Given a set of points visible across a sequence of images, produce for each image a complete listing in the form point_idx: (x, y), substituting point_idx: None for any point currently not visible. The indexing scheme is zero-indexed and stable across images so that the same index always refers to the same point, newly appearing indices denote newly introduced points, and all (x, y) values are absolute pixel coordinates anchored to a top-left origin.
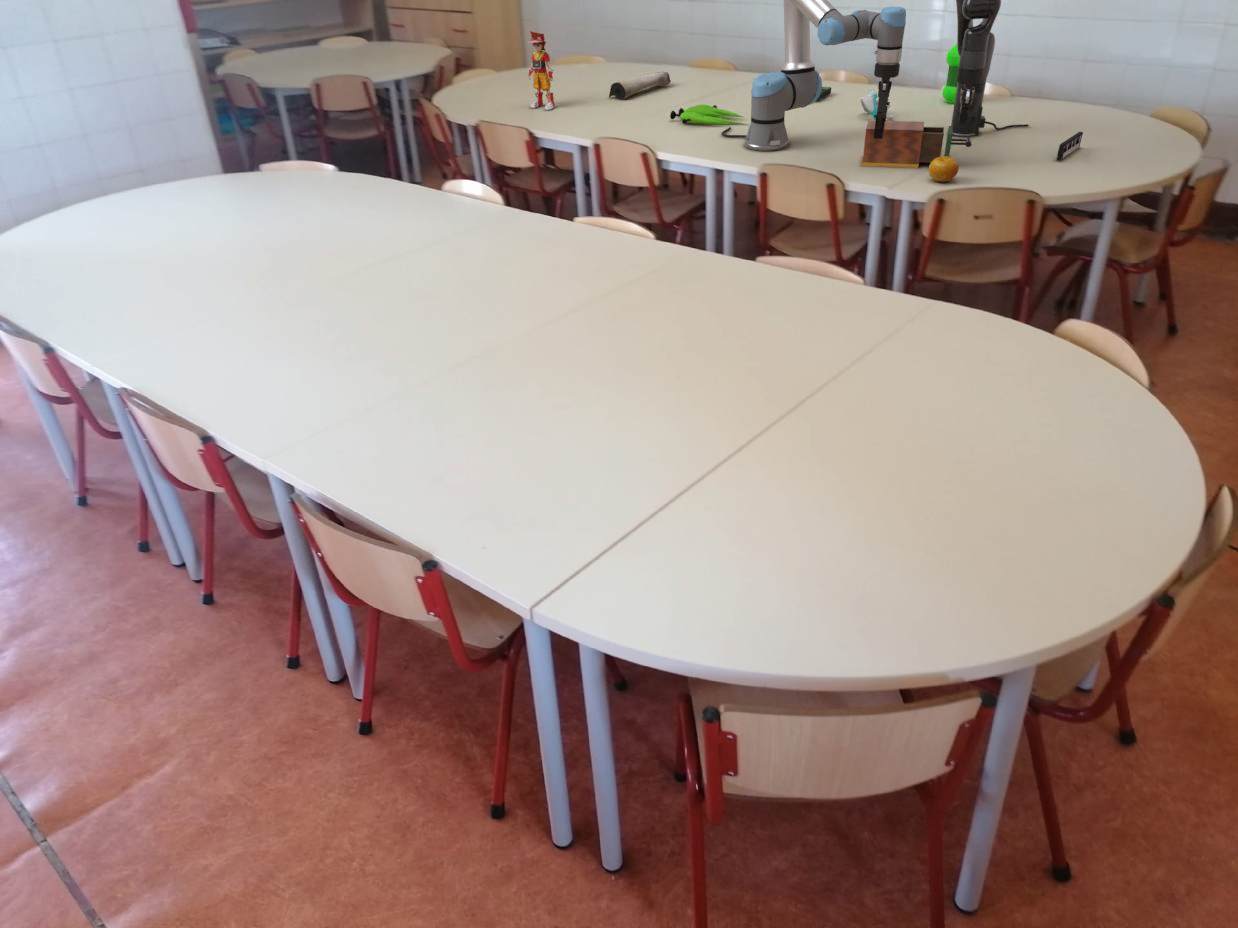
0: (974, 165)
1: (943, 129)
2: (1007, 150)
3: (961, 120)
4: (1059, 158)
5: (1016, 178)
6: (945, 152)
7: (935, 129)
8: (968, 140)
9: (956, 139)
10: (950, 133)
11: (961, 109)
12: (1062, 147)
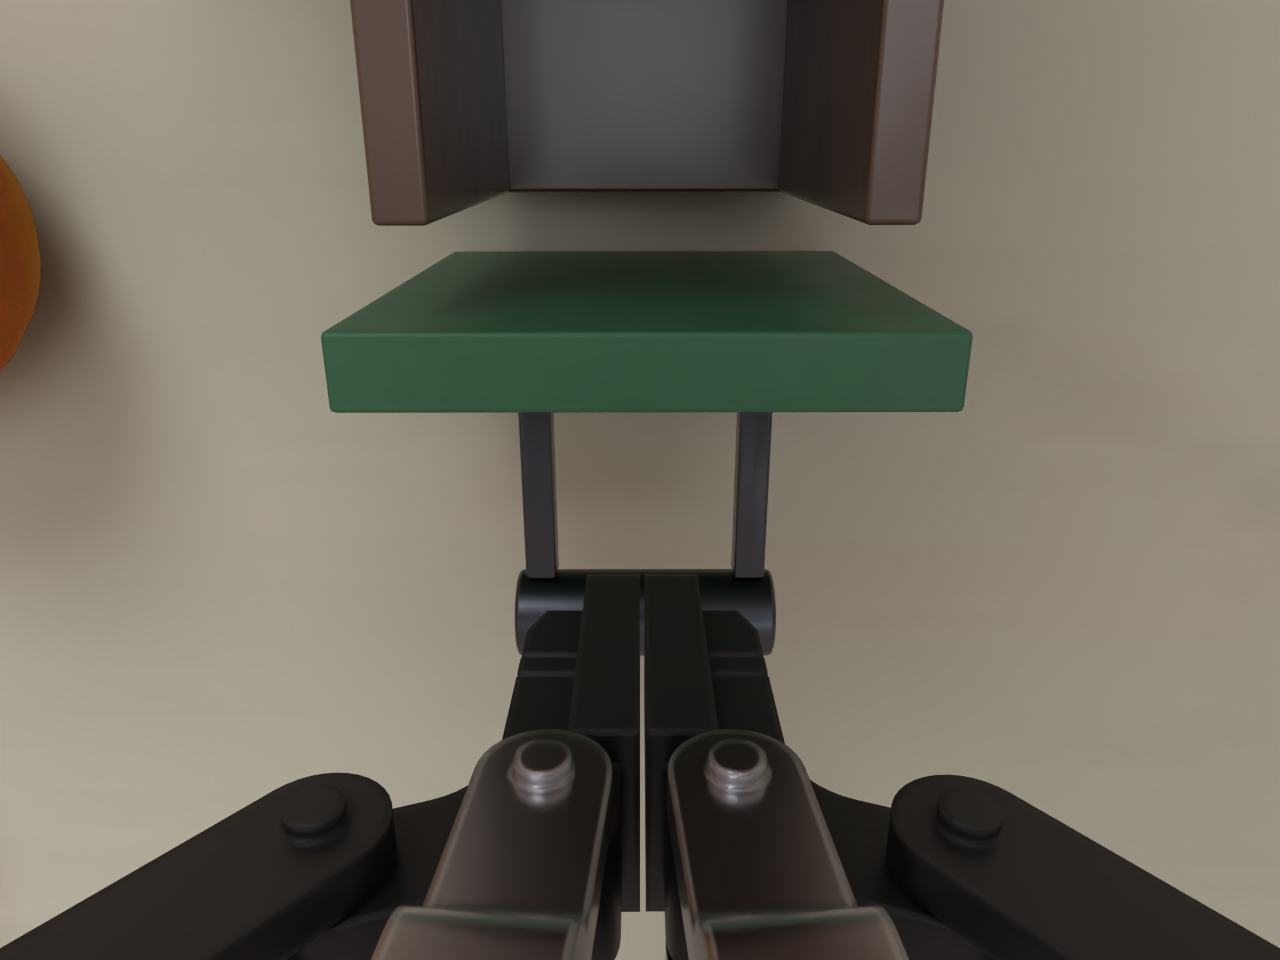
0: None
1: (857, 215)
2: (1177, 879)
3: (528, 660)
4: None
5: None
6: (562, 268)
7: (873, 24)
8: None
9: (744, 448)
10: (330, 367)
11: (189, 854)
12: None
